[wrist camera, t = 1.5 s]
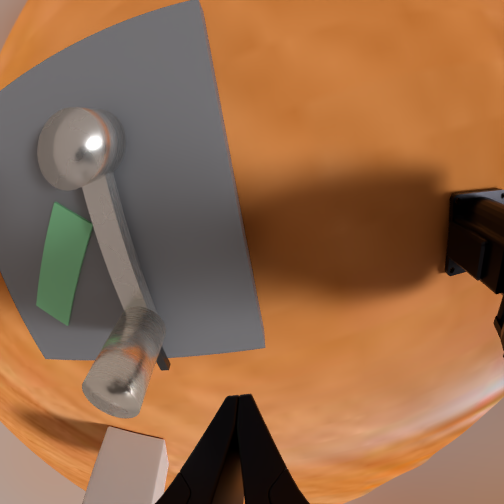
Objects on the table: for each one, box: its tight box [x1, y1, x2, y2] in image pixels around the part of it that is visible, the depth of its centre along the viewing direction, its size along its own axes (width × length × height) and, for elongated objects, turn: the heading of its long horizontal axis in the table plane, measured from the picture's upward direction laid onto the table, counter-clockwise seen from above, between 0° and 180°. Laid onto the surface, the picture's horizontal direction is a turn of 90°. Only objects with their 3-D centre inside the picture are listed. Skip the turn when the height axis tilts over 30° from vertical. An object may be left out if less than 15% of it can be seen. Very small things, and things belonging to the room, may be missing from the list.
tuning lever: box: [37, 107, 170, 418], centre depth 13 cm, size 17×4×7 cm, turn 10°
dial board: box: [0, 0, 265, 360], centre depth 17 cm, size 20×22×2 cm
